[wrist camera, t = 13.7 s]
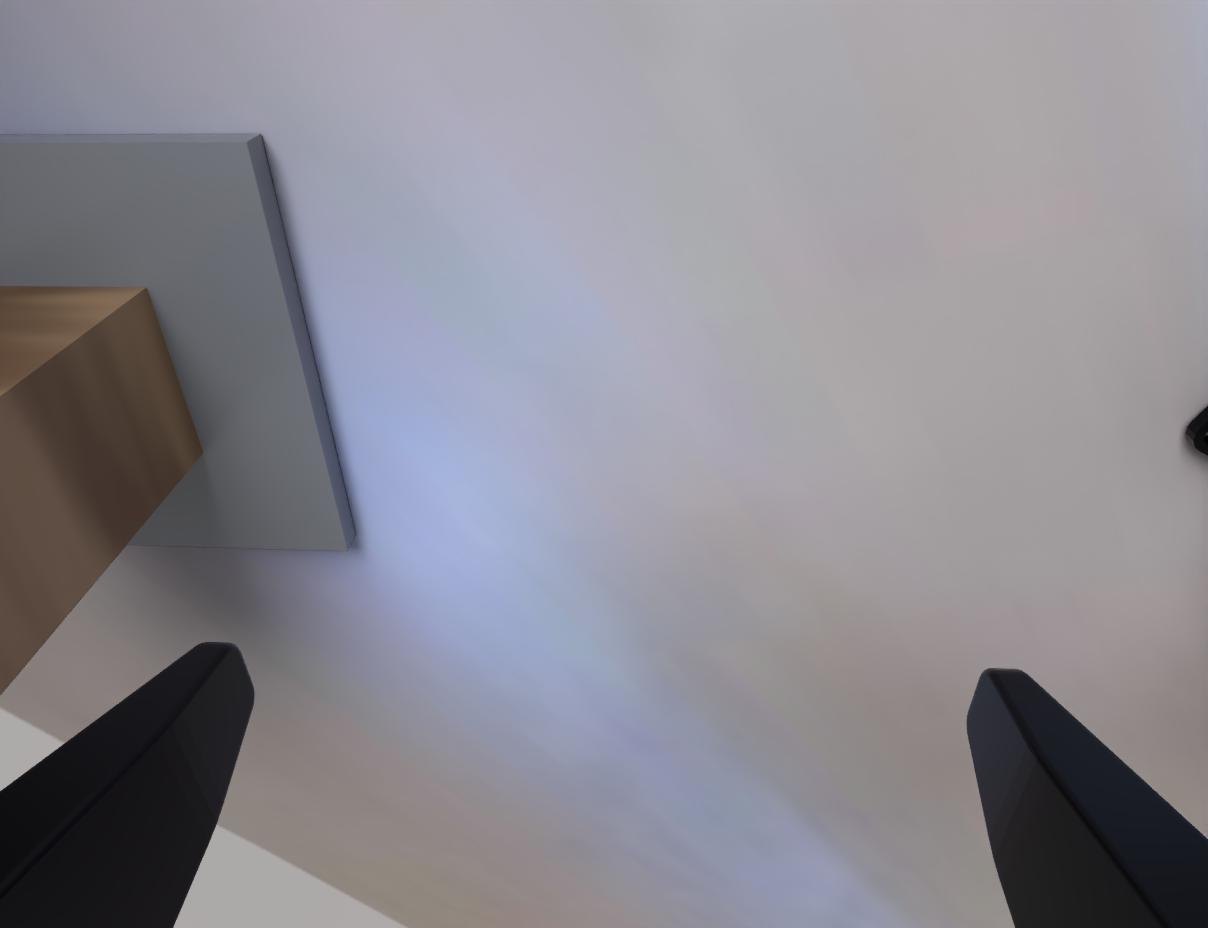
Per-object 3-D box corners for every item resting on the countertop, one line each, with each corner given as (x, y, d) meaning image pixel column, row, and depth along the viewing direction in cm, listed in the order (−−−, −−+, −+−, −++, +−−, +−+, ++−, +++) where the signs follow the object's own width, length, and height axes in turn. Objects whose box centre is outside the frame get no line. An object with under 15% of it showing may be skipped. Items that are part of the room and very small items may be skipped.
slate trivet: (260, 133, 19) (246, 142, 19) (355, 534, 26) (347, 551, 26) (-220, 135, 20) (-250, 143, 20) (-8, 524, 27) (-25, 540, 26)
